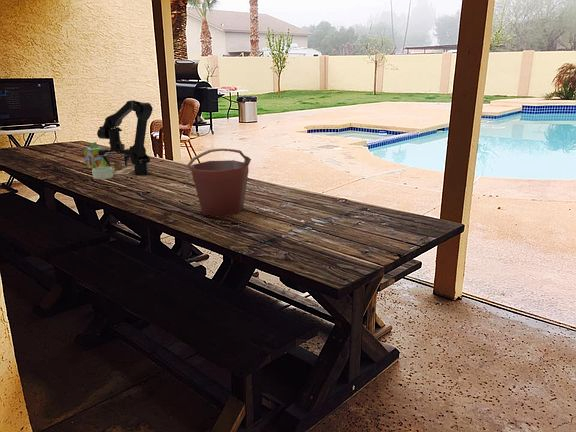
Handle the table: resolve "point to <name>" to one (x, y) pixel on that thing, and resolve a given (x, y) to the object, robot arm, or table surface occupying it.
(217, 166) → the bucket
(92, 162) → the chalk box
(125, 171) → the beige square tray
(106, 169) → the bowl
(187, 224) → the table surface
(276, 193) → the table surface
